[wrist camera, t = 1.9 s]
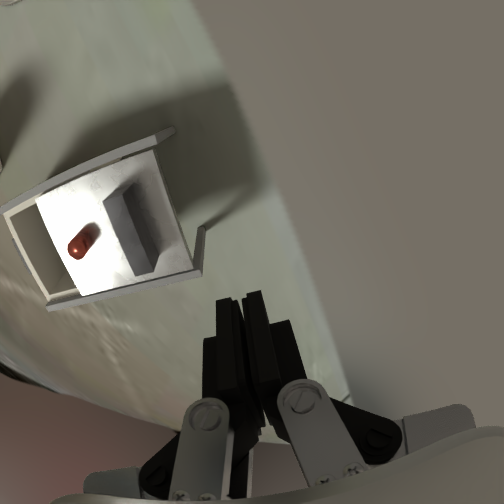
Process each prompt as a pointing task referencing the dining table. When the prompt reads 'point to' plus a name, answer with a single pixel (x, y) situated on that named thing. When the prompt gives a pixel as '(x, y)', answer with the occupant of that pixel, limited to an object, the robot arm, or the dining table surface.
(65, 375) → the dining table surface
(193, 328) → the dining table surface
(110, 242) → the lid
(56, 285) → the white box with rails
